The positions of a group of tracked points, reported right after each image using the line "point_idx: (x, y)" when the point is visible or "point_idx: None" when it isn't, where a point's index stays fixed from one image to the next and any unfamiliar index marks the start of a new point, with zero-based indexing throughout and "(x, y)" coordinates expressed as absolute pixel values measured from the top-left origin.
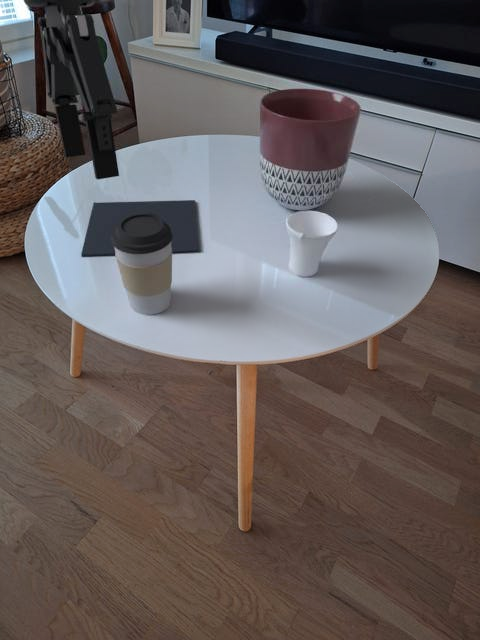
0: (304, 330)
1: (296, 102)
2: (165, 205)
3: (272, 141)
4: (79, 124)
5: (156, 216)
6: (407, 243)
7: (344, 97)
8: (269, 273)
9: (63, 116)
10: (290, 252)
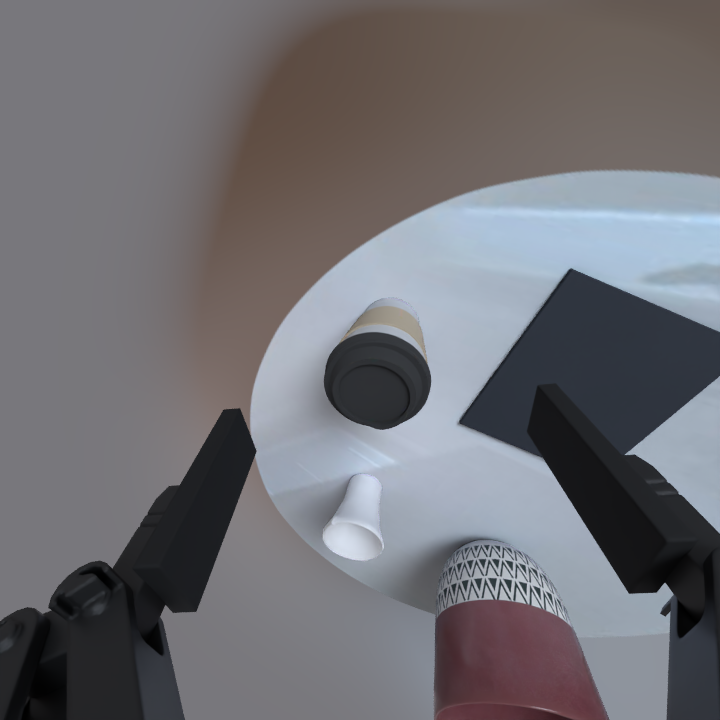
0: (277, 433)
1: None
2: (617, 441)
3: (509, 641)
4: (578, 512)
5: (384, 425)
6: (358, 564)
7: None
8: (374, 457)
9: (620, 511)
10: (372, 493)
